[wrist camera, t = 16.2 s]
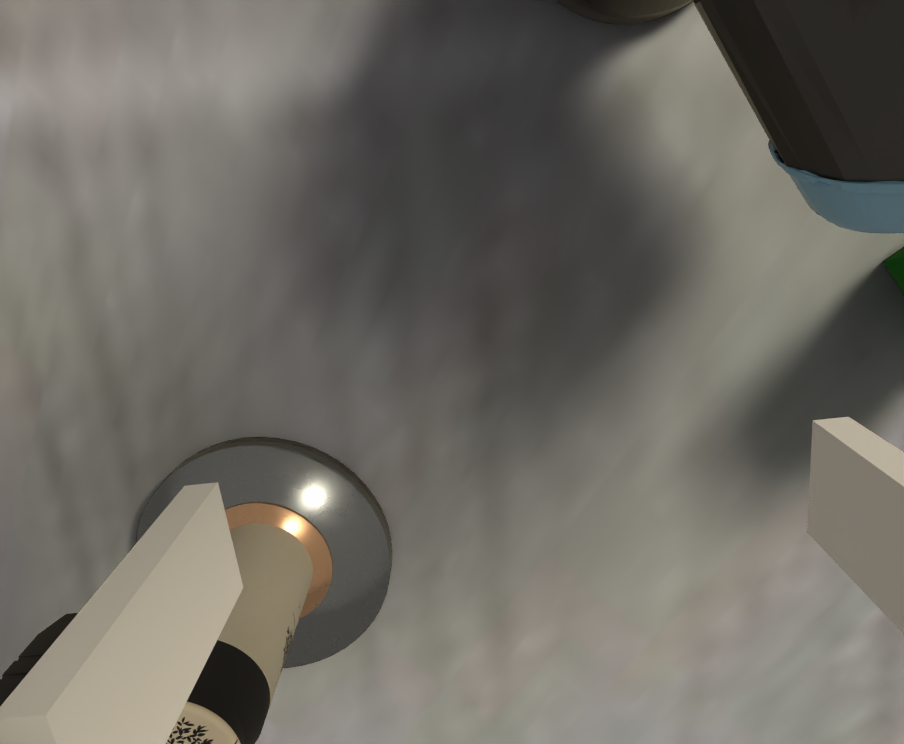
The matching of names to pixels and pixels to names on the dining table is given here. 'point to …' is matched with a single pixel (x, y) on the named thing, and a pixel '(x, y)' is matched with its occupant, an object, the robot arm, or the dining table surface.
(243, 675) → the travel mug
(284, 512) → the grey flat disc
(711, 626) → the dining table surface
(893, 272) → the soya milk
